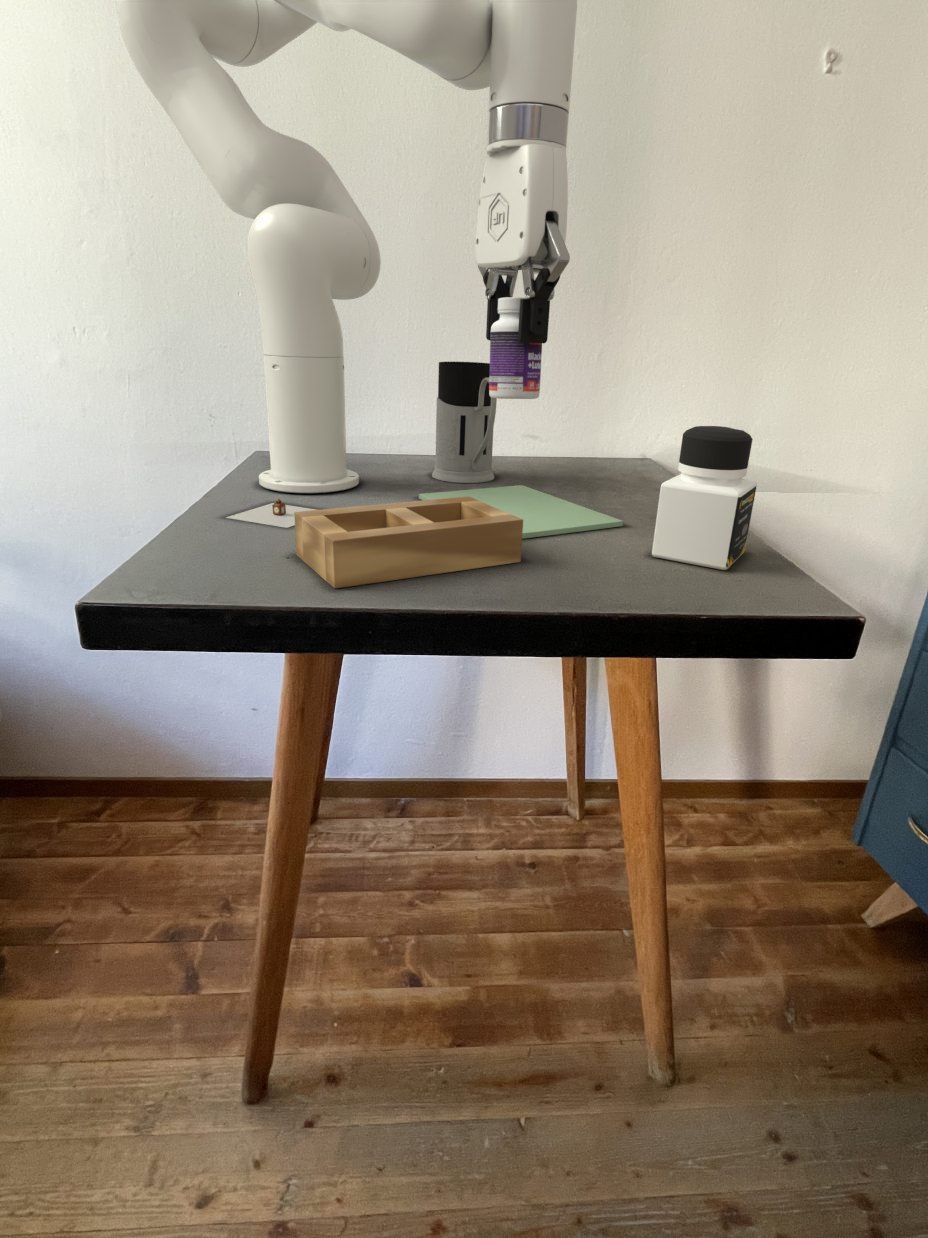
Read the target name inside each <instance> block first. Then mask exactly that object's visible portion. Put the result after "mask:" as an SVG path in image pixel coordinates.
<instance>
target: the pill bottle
mask: <svg viewBox="0 0 928 1238" xmlns="http://www.w3.org/2000/svg"><path fill="white" fill-rule="evenodd" d="M520 299H526V298H525V297H521V296H520V297H518V296H517V297H516V296H513V297H507V298H499V299H498V314H500V319H499V320H498V321H496V322H494V323H493V325H492V326H491V334H490V340H489V341H490V342H489V363H490V375H489V395H490V397H492V398H497V399H499V400H504V399H505V400H511V399H512V400H534V399H538V398H539V397H540V392H541V377H542V376H541V375H542V374H541V373H542V355H543V343H520V342H519V341H518V329H519V312H520Z"/></svg>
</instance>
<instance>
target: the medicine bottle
mask: <svg viewBox="0 0 928 1238" xmlns="http://www.w3.org/2000/svg"><path fill="white" fill-rule="evenodd" d="M752 445H753V437H752V436H751V433H750V434H749V433H748V432H746V431H745V430H744V429H740V428H735V427H730V426H720V425H698V426H697V425H696V426H692V427H691V428H688V429H686V430H685V431H684V432H683V433H682V438H681V445H680V453H679V459H678V466H677V471H679V472H680V474H678V475H676V476H673V477H671V478H669V479H667V480H665V481H664V482H662V483H661V485H660V488H659V489H660V490H659V498H658V503H657V511H656V519H655V526H654V532H653V533H654V534H653V542H652V548H651V556H652V557H654V558H658V559H661V560H662V559H663V560H668V561H673V562H679V563H685V564H690V565H694V566H699V567H706V568H711V569H716V570H721V571H727V570H728V569H729V568H730V567H731V566H732V565H733V564H734V563H735V562H736V561H737V560H738V559H739V558H740V557H742V555H743V554H744V553H745V551H746V546H747V539H748V535H749V530H750V525H751V524H750V523H751V518H752V513H753V508H754V502H755V497H756V491H757V487H758V485H757V482H756V481H755V480H751V479H745V477H746V476H747V473H748V466H749V463H750V462H749V461H750V456H751V450H752Z"/></svg>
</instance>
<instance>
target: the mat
mask: <svg viewBox="0 0 928 1238" xmlns="http://www.w3.org/2000/svg"><path fill="white" fill-rule="evenodd" d="M466 496H469V497H471V498H474V499H476V500H478V501H481V502H483V503H485V504H488V505H490V506H493V507H495V508H497V509H500V510H502V511H504V512H507V513H509V514H511V515H514V516H516V517H519V518H521V519H523V533H522V540H524V539H532V538H540V537H547V536H555V535H563V534H564V535H565V534H570V533H573V534H574V533H578V532H579V533H580V532H587V531H596V530H604V529H610V528H618V527H623V526H624V520H623V519H619V518H616V517H613V516H610V515H608V514H605V513H601V512H599V511H596V510H593V509H590V508H588V507H585V506H582V505H579V504H577V503H574V502H571V501H568V500H565V499H562V498H560V497H557V496H554V495H551V494H549V493H545V492H543V491H541V490H537V489H534V488H531V487H528V486H525V485H523V484H518V485H508V486H494V487H485V488H473V489H460V490H459V489H458V490H449V491H437V492H436V491H435V492H426V493H419V494H418V499H419V500H420V501H422V500H433V499H444V498H455V497H466Z"/></svg>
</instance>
